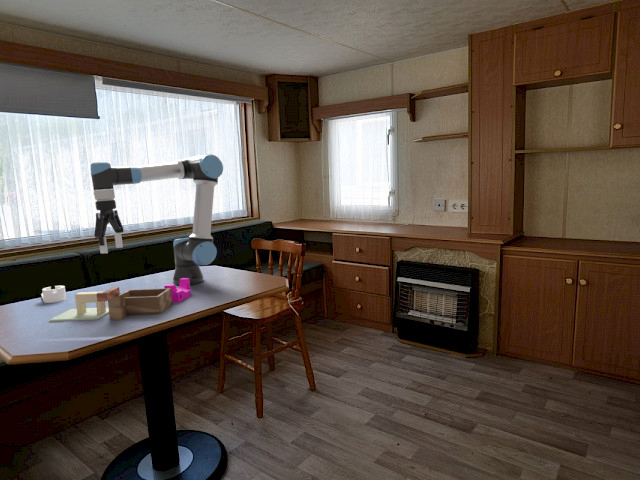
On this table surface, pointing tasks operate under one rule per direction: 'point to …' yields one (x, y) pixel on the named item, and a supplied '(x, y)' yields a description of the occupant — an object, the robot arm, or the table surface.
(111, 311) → the toolbox
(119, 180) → the robot arm
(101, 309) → the lid
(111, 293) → the wooden key
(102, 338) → the table surface
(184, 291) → the toy block
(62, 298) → the bracket
